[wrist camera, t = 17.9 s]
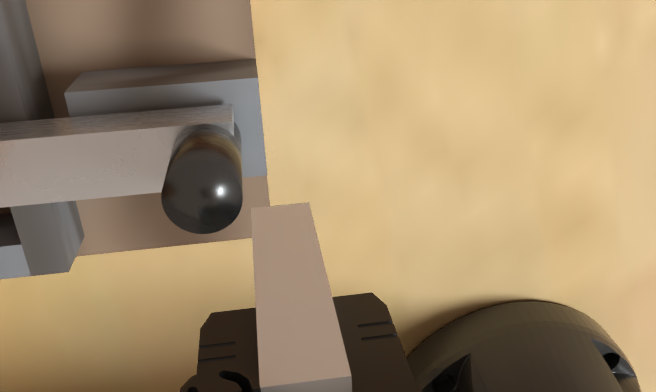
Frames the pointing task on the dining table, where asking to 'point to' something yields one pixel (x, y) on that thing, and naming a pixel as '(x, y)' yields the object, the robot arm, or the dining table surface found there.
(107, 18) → the dock socket
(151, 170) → the lock bolt
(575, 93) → the dining table surface
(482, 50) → the dining table surface
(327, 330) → the robot arm
